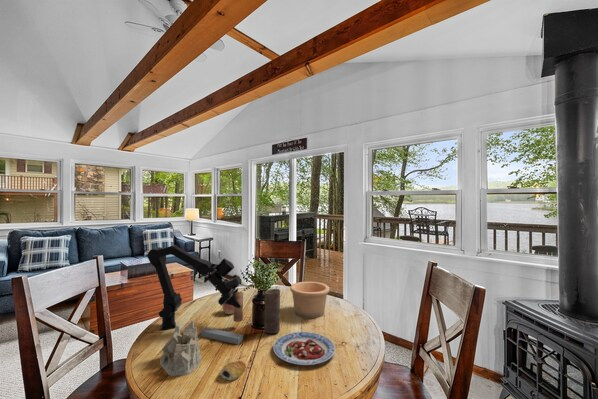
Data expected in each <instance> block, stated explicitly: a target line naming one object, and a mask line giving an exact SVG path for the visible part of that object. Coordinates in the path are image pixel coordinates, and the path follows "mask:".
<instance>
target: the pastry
mask: <svg viewBox="0 0 598 399" xmlns="http://www.w3.org/2000/svg"><path fill="white" fill-rule="evenodd" d="M246 367H247V366H246V363H245V362H244V361H243V360H238V361H233V362H228V363H227V364H226V365H224V366H223V368H222V369H221V370H220V373H219V375H220V376H221V378H222V379H224V380H227V381H235V380H237V379H238V378H240V377H241V376H242V375H243V374H244V372H245V371H246Z"/></svg>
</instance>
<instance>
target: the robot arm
mask: <svg viewBox="0 0 598 399" xmlns="http://www.w3.org/2000/svg"><path fill="white" fill-rule="evenodd" d="M169 255H172V256H174V257H175V258H177V259H178V260H180V261H183V262H184V263H186V264H187V265H189V266H191V267H192V268H193V269H194V271H195V272H196V273H198V275H200V276H204V277H203V278H204V280H203V283H204V284H205V283H207V282H209V283H210V284H211V285H212V286H213V287H214V288H215V289H214V291H216V292H217V291H218V292H219V293H220V296H221V297H219V299H218V300H217V303H218V304H219V305H220V306H222V305H223V303H224V302H225V303H224V304H228V305H232V306H235V307H237V308H240V307H241V306H240V304H239V303H238V302H237V300H236V299H235V297H234V293H235V292H239V286H240V284H241V282H242V281H241V276H240V275H237V274H233V275H232V278H230V279H228V278H224V277H227V276H228V274H229V273H230V272H232V271H233V270H234V268H235V266H234V264H233V263H232V262H231V261H230V260H228V259H226V258H223V259H222V260H221V261H220V262H219V264H216V263H212V262H211V261H209V260H206V259H203V258H199V257H197V256H195V255H193V254H191V253H190V252H188V251H187V250H185V249H182V248H181V247H179V246H178V245H176V244H171V245H170V246H167V247H160V246H159V247H156V248H152V249H150V250H149V251H148V252H147V255H146V257H147V260H148V261H149V262H150V263H149V264H151V265H152V266H153V267H154V269H155V271H156V274H157V275H156V276H157V277H158V281H159V284H160V287H161V291H162V294H163V300H162V301H163V302H162V304H163V308H162V309H161V310H160V311H159V312H158V316H159V318H161V321H162V322H161V324H160V331H163V330H171V329H175V326H176V325H177V322H176V312H177V311H178V310H179V308H180V307H181V306H182V301H183V299H182V296H181V294H180V292H176V291H175V289H174V285H173V283H172V281H171V280H172V279H171V277H170V275H169V271H168V268H167V264H166V262H167V256H169Z"/></svg>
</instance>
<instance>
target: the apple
mask: <svg viewBox="0 0 598 399" xmlns="http://www.w3.org/2000/svg"><path fill="white" fill-rule="evenodd" d="M224 303H225V302H224ZM224 303H223V304H222V305H221V307H222V312H224V313H225V315H234V306H232V305H228V304H224Z"/></svg>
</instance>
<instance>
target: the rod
mask: <svg viewBox="0 0 598 399" xmlns="http://www.w3.org/2000/svg"><path fill="white" fill-rule="evenodd" d="M234 297H235V299H236V300H237V302H238V303H239V304H240V306H241V307H240V308H237V307H235V306H234V313H233V322H235V323H239V322H242V321H243V319H244V318H243V316H244V314H243V313H244V311H243V310H244V308H243V307H244V292H243V291H238V292H235V293H234Z"/></svg>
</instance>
